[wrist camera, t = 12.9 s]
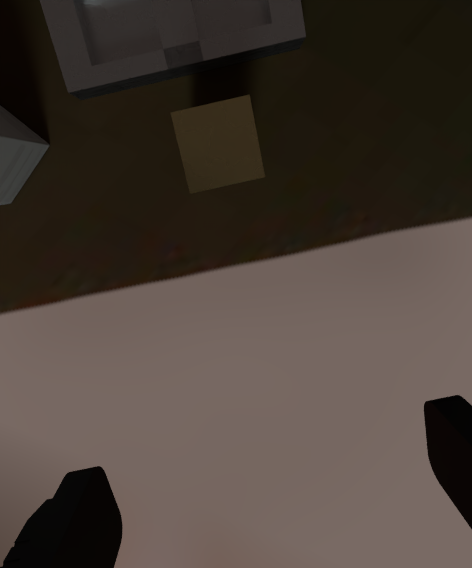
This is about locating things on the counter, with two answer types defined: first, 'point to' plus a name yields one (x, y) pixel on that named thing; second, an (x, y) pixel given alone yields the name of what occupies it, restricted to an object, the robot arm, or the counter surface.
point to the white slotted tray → (163, 38)
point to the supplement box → (17, 155)
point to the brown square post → (218, 144)
